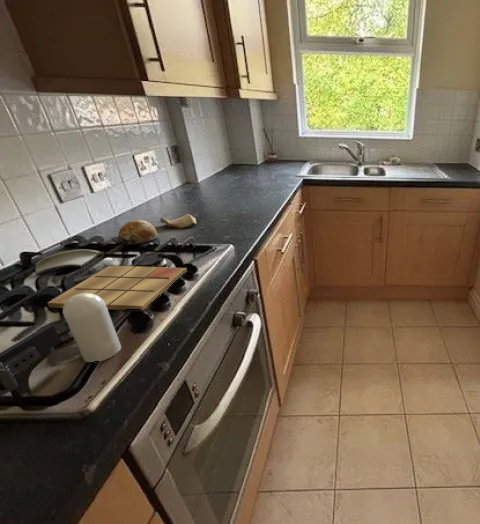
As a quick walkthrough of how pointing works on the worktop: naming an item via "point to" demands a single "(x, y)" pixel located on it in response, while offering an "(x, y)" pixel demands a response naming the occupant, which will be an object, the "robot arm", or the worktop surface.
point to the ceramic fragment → (66, 260)
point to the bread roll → (137, 232)
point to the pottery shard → (180, 221)
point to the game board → (125, 286)
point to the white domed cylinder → (91, 327)
